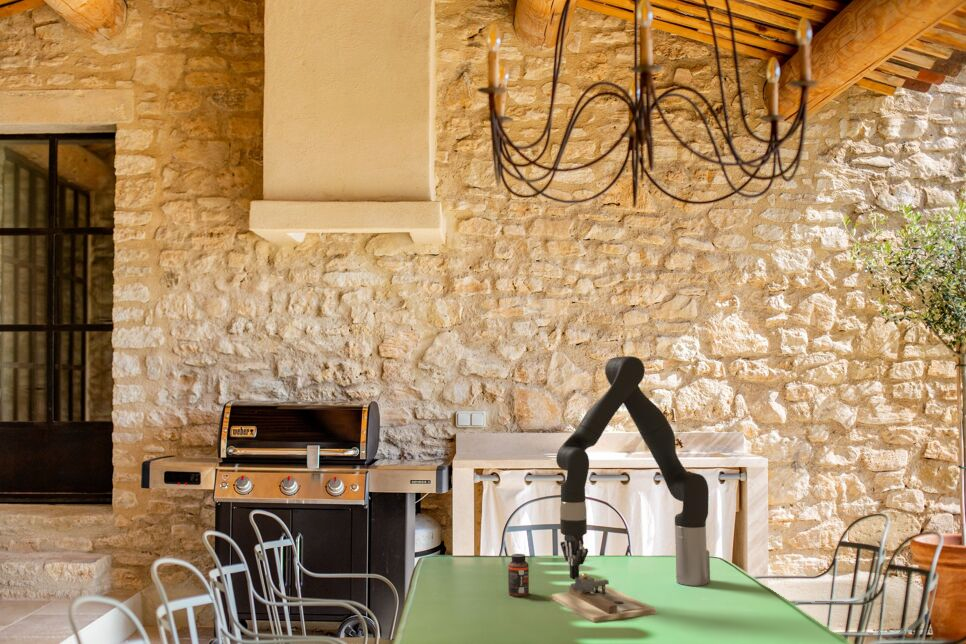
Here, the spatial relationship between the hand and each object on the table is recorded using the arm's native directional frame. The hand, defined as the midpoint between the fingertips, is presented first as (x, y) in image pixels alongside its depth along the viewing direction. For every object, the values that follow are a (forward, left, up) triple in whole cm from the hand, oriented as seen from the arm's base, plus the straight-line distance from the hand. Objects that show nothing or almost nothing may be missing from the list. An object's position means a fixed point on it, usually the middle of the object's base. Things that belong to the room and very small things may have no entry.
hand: (574, 578), depth 227 cm
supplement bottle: (+13, -10, -6) cm, 17 cm away
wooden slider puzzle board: (-3, +10, -6) cm, 12 cm away
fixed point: (-3, +2, -4) cm, 5 cm away
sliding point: (-3, +6, -4) cm, 7 cm away
